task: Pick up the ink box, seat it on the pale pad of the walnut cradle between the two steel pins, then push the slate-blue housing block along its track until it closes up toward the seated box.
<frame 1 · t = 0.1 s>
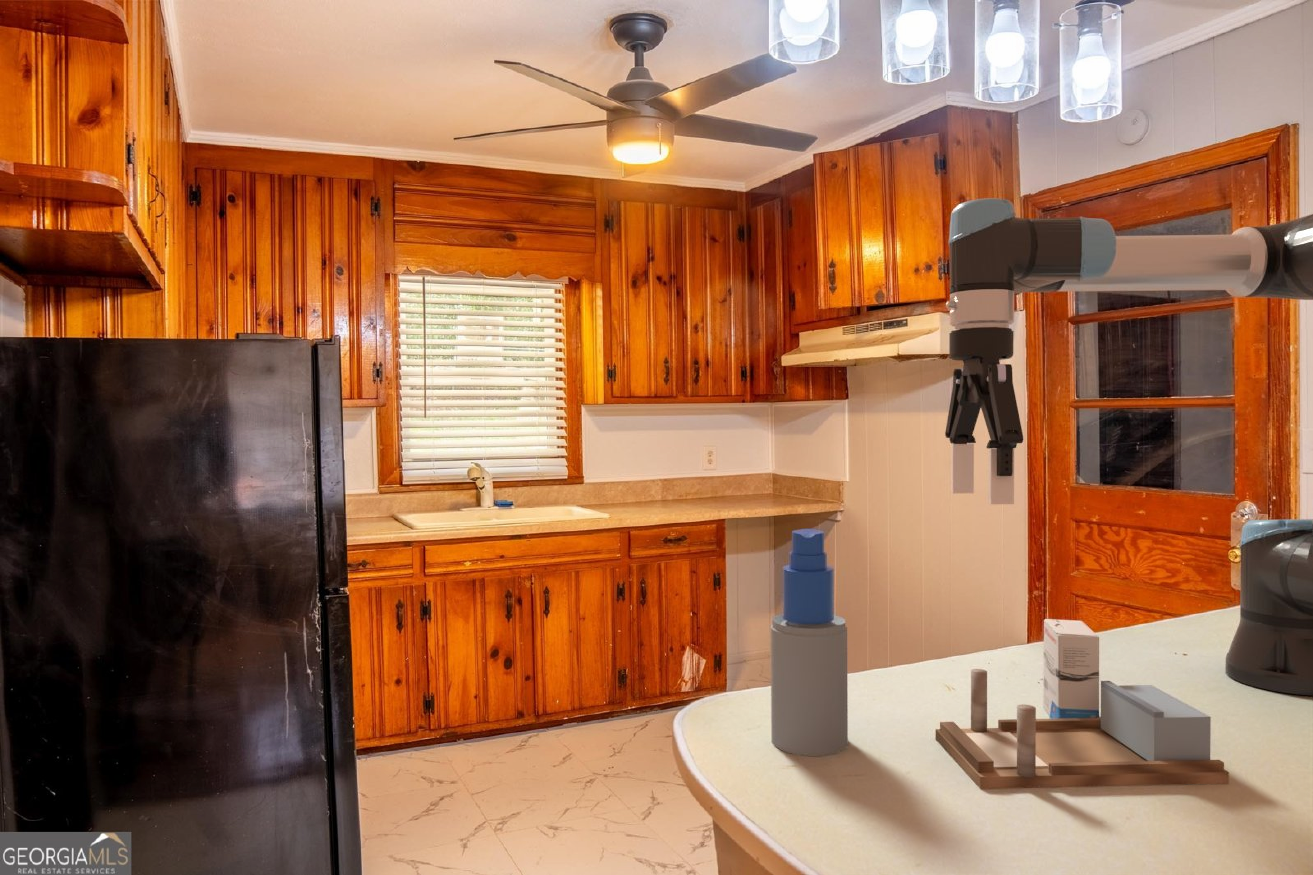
hand: (980, 498, 114), 28 cm above the countertop, fingers open, 13 cm apart
cradle: (1072, 759, 101), on the countertop
housing: (1152, 720, 101), point 4 cm above the countertop, slide at 0.0 cm
spray bottle: (809, 743, 108), on the countertop
ink box: (1070, 721, 114), on the countertop
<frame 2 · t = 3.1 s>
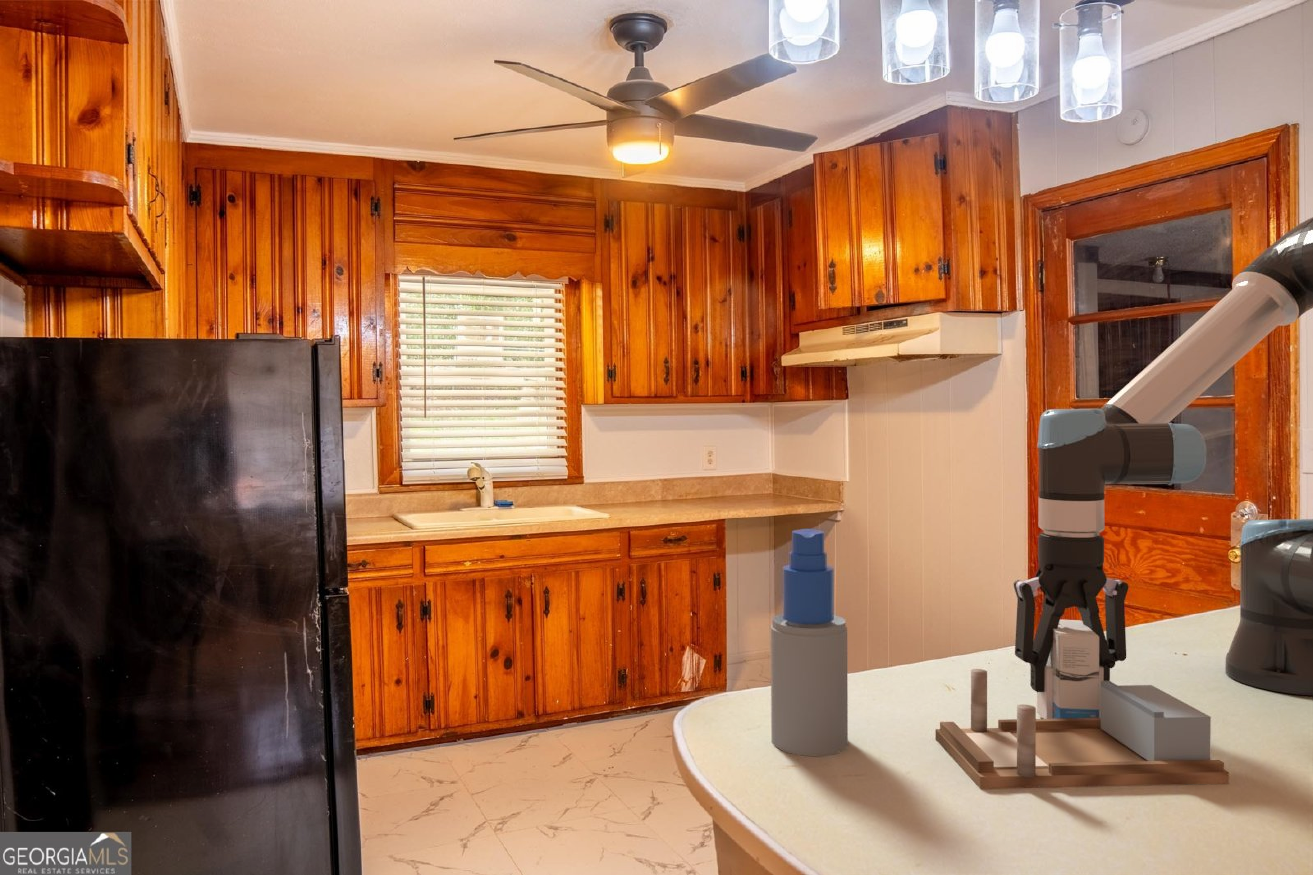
hand: (1069, 716, 114), 0 cm above the countertop, fingers closed on ink box, 6 cm apart
ink box: (1069, 720, 114), on the countertop, touching gripper
everything else where it was.
when the fingers open (3 cm above the countertop, at t = 8.3 s): ink box drops 2 cm, resting on cradle.
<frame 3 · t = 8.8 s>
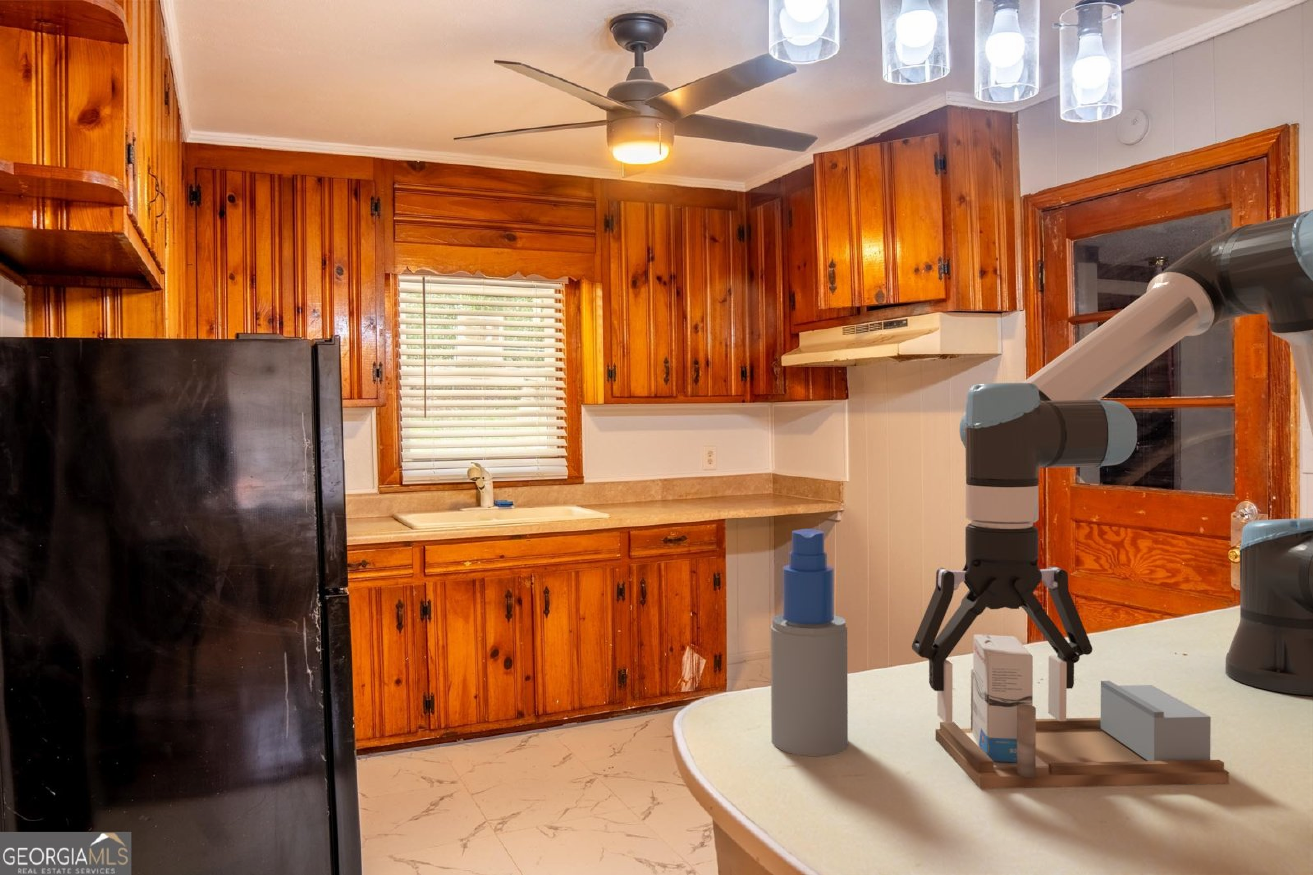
hand: (1001, 718, 101), 5 cm above the countertop, fingers open, 12 cm apart
ink box: (1001, 750, 101), point 1 cm above the countertop, touching cradle
everything else where it was.
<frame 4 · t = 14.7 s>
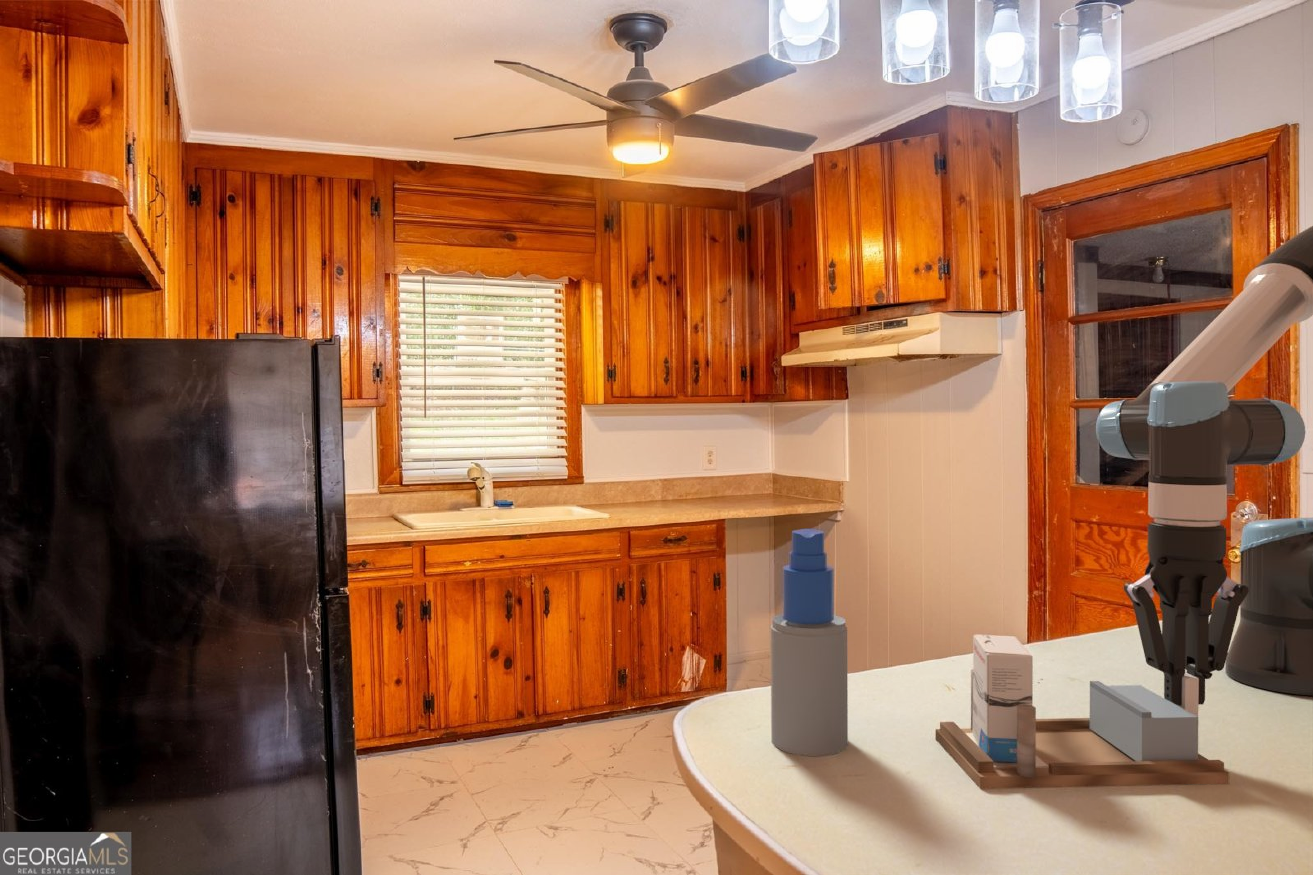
hand: (1183, 732, 101), 3 cm above the countertop, fingers closed
housing: (1141, 720, 101), point 4 cm above the countertop, slide at 1.3 cm, touching gripper
everything else where it was.
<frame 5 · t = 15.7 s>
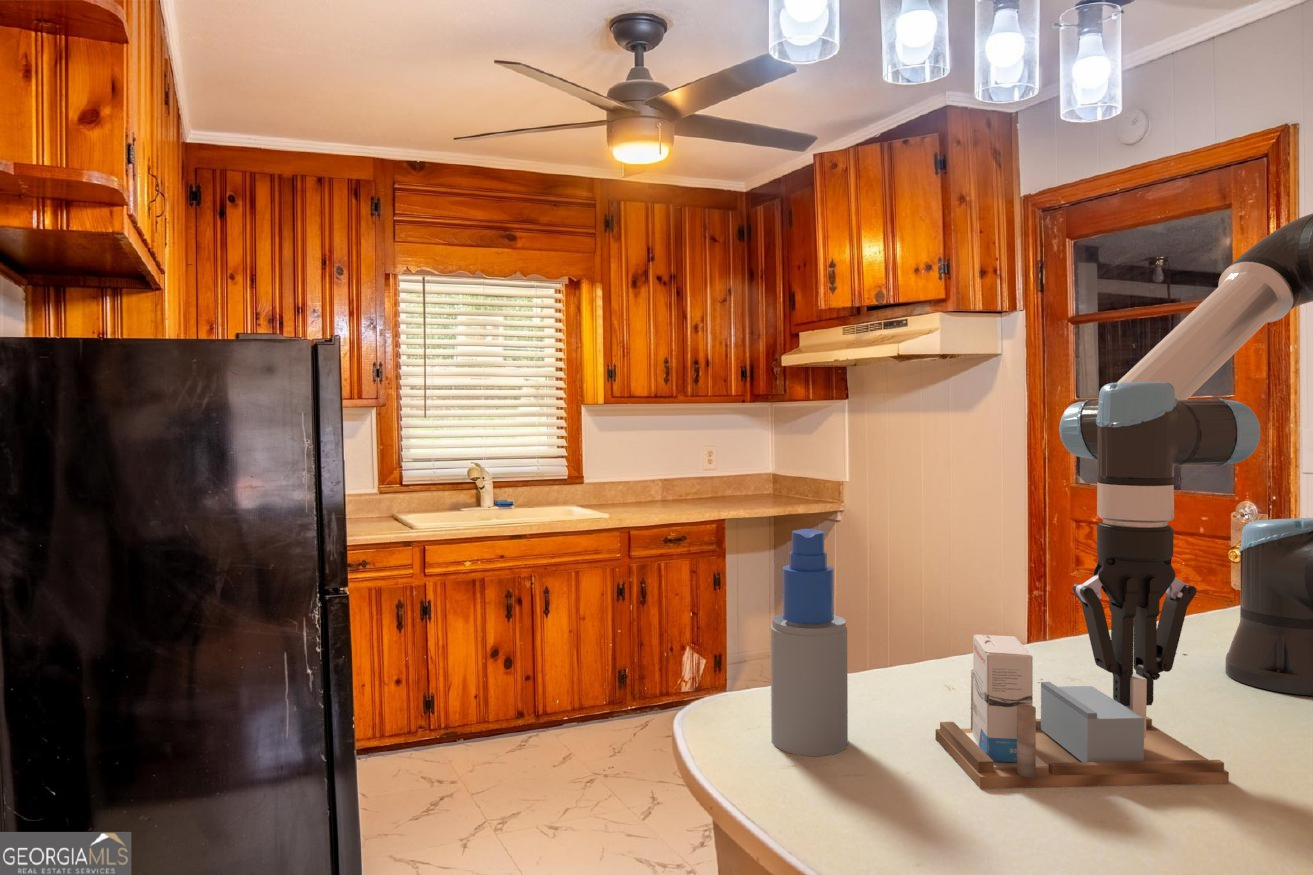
hand: (1132, 733, 101), 3 cm above the countertop, fingers closed
housing: (1089, 721, 101), point 4 cm above the countertop, slide at 7.1 cm, touching gripper
everything else where it was.
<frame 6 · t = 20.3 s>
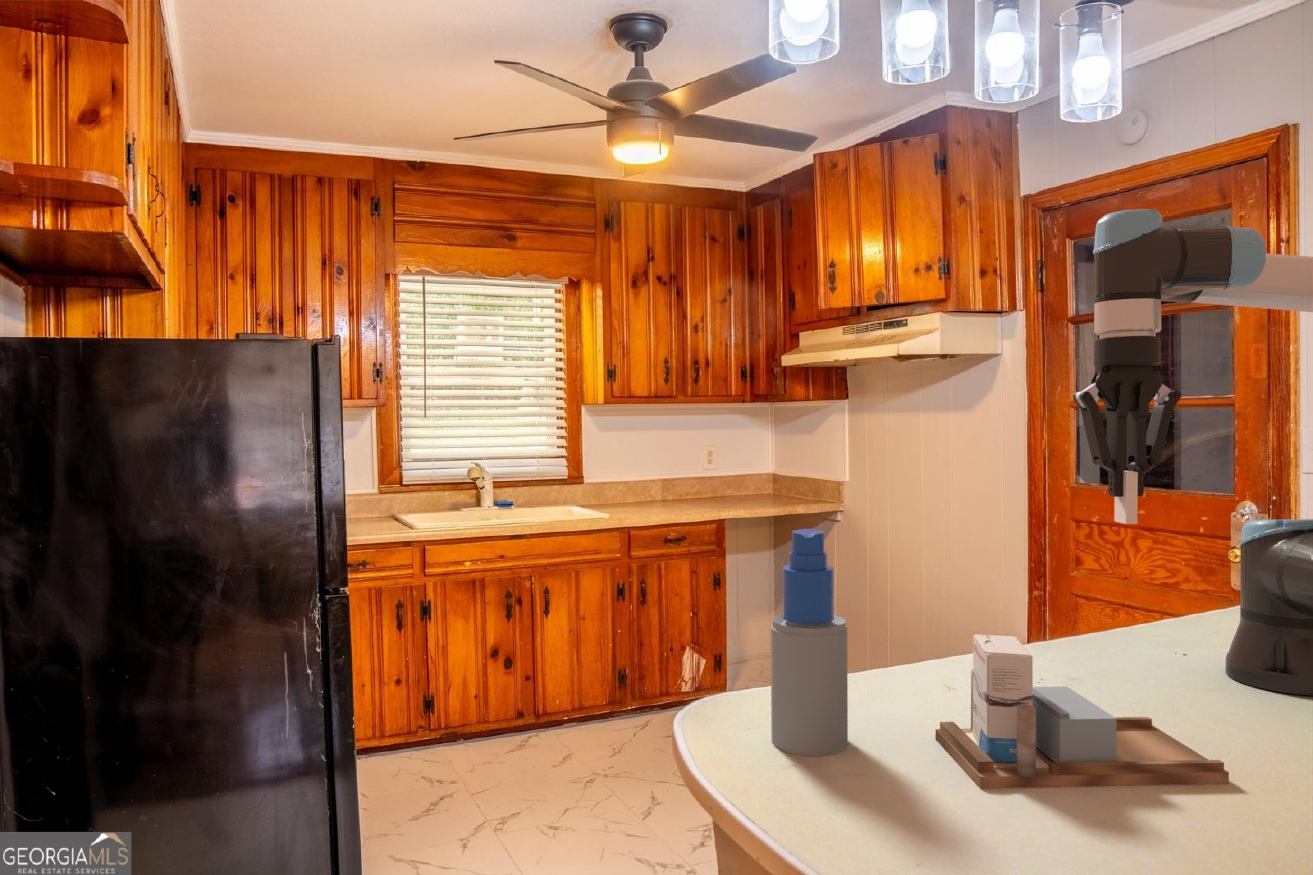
hand: (1125, 522, 116), 24 cm above the countertop, fingers closed
housing: (1063, 721, 101), point 4 cm above the countertop, slide at 10.0 cm
everything else where it was.
at the end: ink box 0.1 cm from the target spot on the cradle, point 1.2 cm above the cradle's base; ink box tilted 0°; housing slide at 10.0 cm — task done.
